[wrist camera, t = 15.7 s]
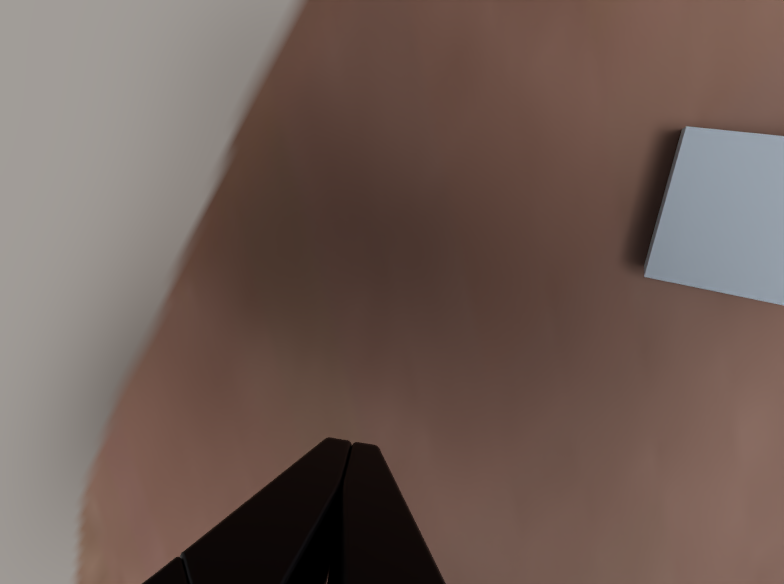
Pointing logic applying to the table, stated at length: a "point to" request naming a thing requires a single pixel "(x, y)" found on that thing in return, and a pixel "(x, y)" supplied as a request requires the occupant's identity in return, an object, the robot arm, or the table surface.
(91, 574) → the table surface
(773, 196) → the domino
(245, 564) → the robot arm
